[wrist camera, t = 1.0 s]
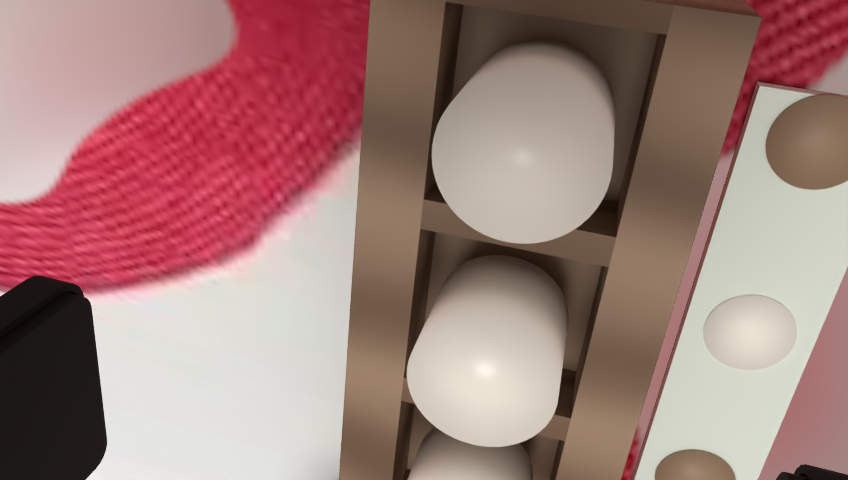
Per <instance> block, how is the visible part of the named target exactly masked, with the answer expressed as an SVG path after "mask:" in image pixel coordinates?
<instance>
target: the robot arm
mask: <svg viewBox="0 0 848 480" xmlns="http://www.w3.org/2000/svg"><path fill="white" fill-rule="evenodd" d="M106 446H107V436H106V428H105V419H104V411H103V402H102V393H101V385H100V376H99V368H98V359H97V350H96V342H95V333H94V325H93V316H92V308H91V304H90V302H89V300H88V299H87V298H85V297H84V295H83V292H82V290H81V289H80V287H79V286H77V285H75V284H73V283H68V282H64V281H60V280H56V279H52V278H48V277H44V276H33V277H31V278H29V279H27V280H25V281H24V282H22V283H21V284H19V285H17V286H16V287H14V288H13V289H11V290H10V291H8V292H7V293H5V294H4V295H2V296H0V480H85V479H86V478H87V477H88V476H89V475H90V474H91V473H92V472H93V471H94V470H95V469H96V468H97V466H98V465H99V464H100V462H101V460H102V458H103V456H104V454H105V451H106ZM776 480H848V475H846V474H842V473H838V472H834V471H830V470H826V469H822V468H818V467H814V466H810V465H806V464H805V465H800V466H799V467H798V468H797V469H796V471H795V473H794V474H791V473H787V472H782V473H781V474H780V475H779V476H778V477H777V479H776Z"/></svg>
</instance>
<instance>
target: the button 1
mask: <svg viewBox="0 0 848 480" xmlns="http://www.w3.org/2000/svg"><path fill="white" fill-rule="evenodd" d="M407 480H533V467H532V463H531V460H530V457H529V455H528V454H527V452H526V450H525V449H524V447H523V446H522V445H521V444H520V443H518V444H514V445H510V446H503V447H485V446H478V445H473V444H469V443H466V442H462V441H460V440H457V439H455V438H453V437H451V436H449V435H447V434H445V433H444V432H442V431H441V430H439V429H438V428H436V427H435V428H433V429H432V430H431V431H429V432H428V433H427V435H426V436H425V437H424V439H423V440H422V442H421V445H420V447H419V450H418V453H417V455H416V458H415V461H414V463H413V466H412V469H411V471H410V474H409V477H408V479H407Z"/></svg>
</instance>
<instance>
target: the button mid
mask: <svg viewBox="0 0 848 480" xmlns="http://www.w3.org/2000/svg"><path fill="white" fill-rule="evenodd" d="M568 323H569V312H568V306H567V303H566V299H565V297H564V295H563V293H562V291H561V289H560V288H559V286H558V285H557V283H556V282H555V281H554V280H553V279H552V278H551V277H550V276H549V275H548V274H547V273H546V272H545V271H543V270H542V269H540V268H539V267H538V266H536V265H534V264H532V263H530V262H528V261H525V260H523V259H520V258H516V257H512V256H505V255H489V256H483V257H478V258H475V259H472V260H470V261H468V262H466V263H464V264H462V265H461V266H459V267H458V268H456V269H455V270H454V271H453V272H452V273H451V274H450V275H449V277H448V278H447V279H446V281H445V282H444V284H443V286H442V288H441V290H440V292H439V295H438V297H437V299H436V301H435V303H434V305H433V307H432V310H431V312H430V314H429V316H428V318H427V320H426V323H425V325H424V327H423V329H422V331H421V333H420V335H419V338H418V340H417V342H416V344H415V346H414V348H413V351H412V353H411V355H410V358H409V361H408V366H407V382H408V387H409V391H410V394H411V396H412V399H413V401H414V403H415V404H416V406H417V408H418V409H419V410H420V412H421V413H422V414H423V416H424V417H425V418H426V419H427V420H428V421H429V422H430V423H432V424H433V425H434V426H435V427H436V428H438V429H439V430H441V431H442V432H444V433H445V434H447V435H449V436H451V437H453V438H455V439H457V440H460V441H462V442H466V443H469V444H473V445H478V446H485V447H503V446H510V445H514V444H518V443H521V442H523V441H526V440H528V439H530V438H532V437H533V436H535V435H536V434H538V433H539V432H540V431H541V430H542V429H543V428H545V427H546V425H547V424H548V423H549V421H550V420H551V419H552V417H553V415H554V413H555V410H556V407H557V404H558V397H559V390H560V382H561V375H562V368H563V360H564V353H565V346H566V338H567V331H568Z"/></svg>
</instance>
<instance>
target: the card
mask: <svg viewBox="0 0 848 480" xmlns="http://www.w3.org/2000/svg"><path fill="white" fill-rule="evenodd" d="M847 267H848V96H846V95H840V94H834V93H827V92H821V91H814V90H808V89H801V88H795V87H789V86H782V85H776V84H769V83H763V82H757V83H756V86H755V89H754V92H753V95H752V99H751V102H750V105H749V108H748V111H747V114H746V118H745V121H744V124H743V127H742V130H741V134H740V137H739V140H738V143H737V146H736V149H735V153H734V156H733V159H732V162H731V165H730V168H729V172H728V175H727V178H726V181H725V184H724V187H723V191H722V194H721V197H720V200H719V203H718V206H717V210H716V213H715V216H714V220H713V222H712V226H711V229H710V232H709V235H708V238H707V241H706V244H705V248H704V251H703V254H702V257H701V260H700V264H699V267H698V270H697V273H696V276H695V279H694V283H693V286H692V289H691V292H690V295H689V299H688V302H687V305H686V308H685V311H684V314H683V317H682V321H681V324H680V327H679V330H678V333H677V337H676V340H675V343H674V346H673V349H672V352H671V355H670V359H669V362H668V365H667V368H666V371H665V374H664V378H663V381H662V384H661V387H660V390H659V394H658V397H657V400H656V403H655V406H654V409H653V413H652V416H651V419H650V422H649V426H648V429H647V432H646V435H645V438H644V441H643V444H642V447H641V451H640V454H639V457H638V460H637V463H636V466H635V470H634V473H633V476H632V479H631V480H757V479H758V477H759V475H760V472H761V470H762V468H763V465H764V463H765V460H766V458H767V456H768V453H769V451H770V449H771V446H772V444H773V442H774V439H775V437H776V435H777V432H778V430H779V427H780V425H781V423H782V420H783V418H784V416H785V413H786V411H787V409H788V406H789V404H790V401H791V399H792V397H793V394H794V392H795V389H796V387H797V385H798V383H799V380H800V378H801V375H802V373H803V371H804V368H805V366H806V364H807V361H808V359H809V357H810V354H811V351H812V349H813V347H814V345H815V342H816V340H817V338H818V335H819V333H820V331H821V328H822V326H823V323H824V321H825V319H826V316H827V314H828V312H829V309H830V307H831V305H832V302H833V300H834V297H835V295H836V293H837V290H838V288H839V286H840V283H841V281H842V279H843V276H844V274H845V271H846V269H847Z"/></svg>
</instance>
